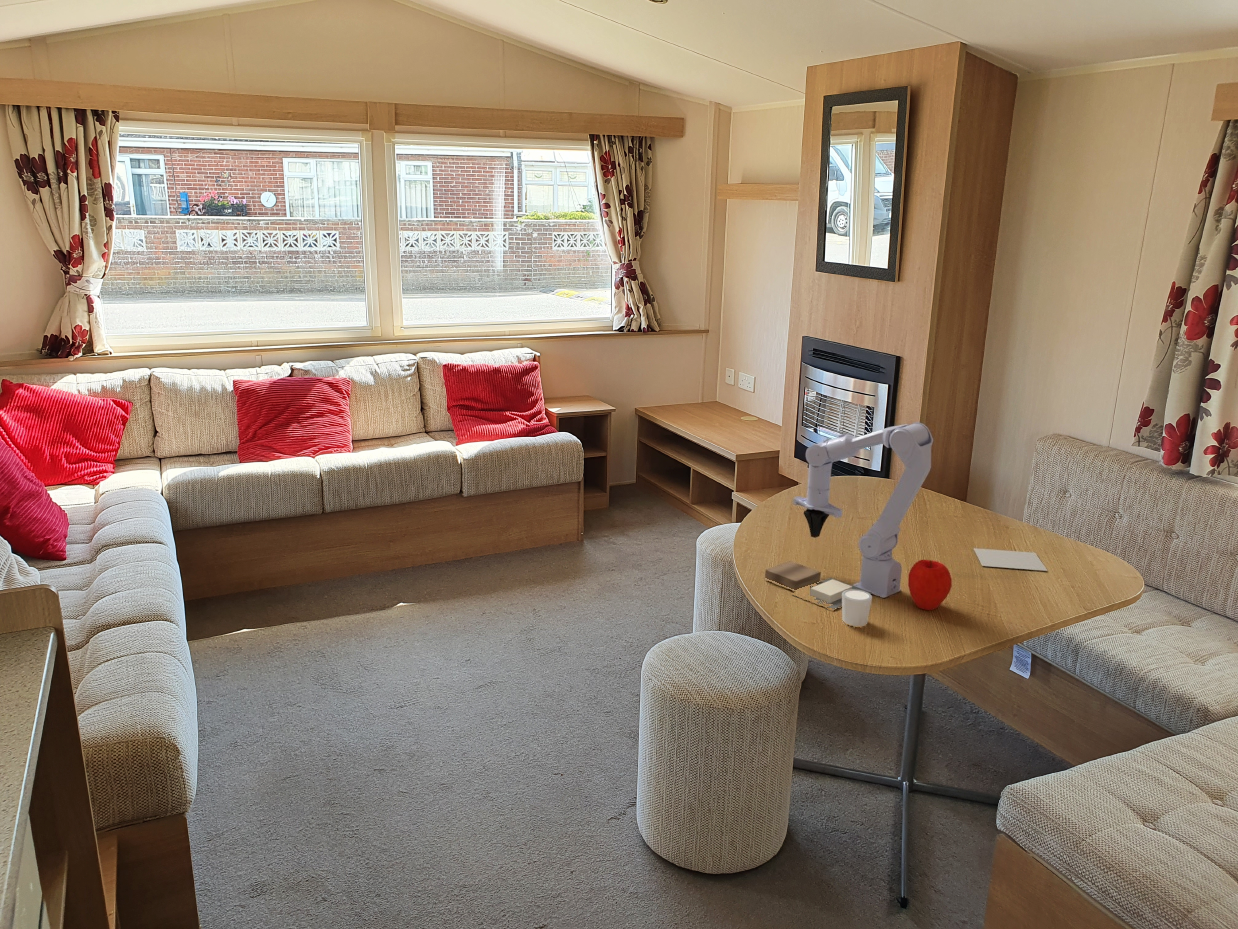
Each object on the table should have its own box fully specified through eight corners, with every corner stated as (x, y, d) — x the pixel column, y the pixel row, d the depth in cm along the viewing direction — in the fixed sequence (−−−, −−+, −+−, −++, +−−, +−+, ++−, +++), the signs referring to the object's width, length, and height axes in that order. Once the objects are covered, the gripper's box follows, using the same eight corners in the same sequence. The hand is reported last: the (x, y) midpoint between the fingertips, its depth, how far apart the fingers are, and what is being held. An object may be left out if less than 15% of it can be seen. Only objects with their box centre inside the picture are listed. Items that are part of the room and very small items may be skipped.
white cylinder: (864, 616, 215) (867, 588, 213) (873, 628, 209) (876, 600, 207) (836, 616, 215) (838, 588, 213) (844, 629, 208) (846, 600, 207)
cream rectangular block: (832, 579, 230) (832, 586, 231) (810, 588, 225) (809, 595, 225) (852, 586, 226) (851, 593, 227) (830, 595, 220) (829, 603, 221)
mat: (871, 594, 228) (871, 592, 227) (832, 611, 218) (832, 609, 217) (830, 579, 237) (830, 577, 237) (791, 594, 227) (791, 593, 227)
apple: (952, 604, 222) (957, 558, 219) (943, 619, 214) (949, 571, 211) (910, 595, 227) (915, 550, 224) (901, 609, 219) (905, 562, 216)
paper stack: (1056, 586, 235) (1057, 584, 235) (955, 578, 239) (955, 576, 239) (1034, 555, 257) (1035, 552, 257) (942, 548, 261) (942, 545, 261)
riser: (819, 582, 235) (820, 572, 234) (795, 592, 228) (795, 581, 228) (789, 571, 242) (790, 560, 241) (764, 580, 236) (765, 569, 235)
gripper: (787, 483, 240) (784, 532, 244) (831, 496, 230) (828, 547, 233) (803, 479, 245) (800, 526, 248) (848, 491, 234) (844, 541, 238)
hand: (815, 536), depth 241 cm, fingers closed
